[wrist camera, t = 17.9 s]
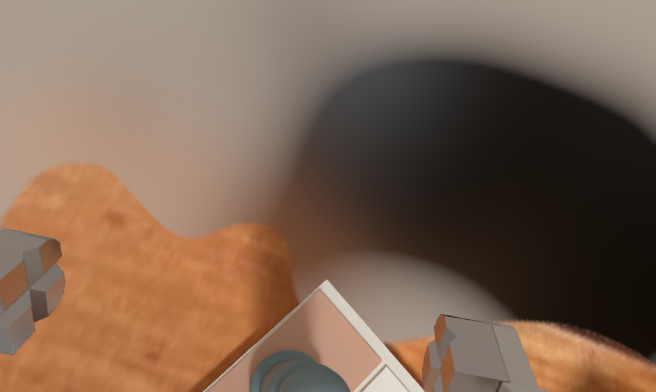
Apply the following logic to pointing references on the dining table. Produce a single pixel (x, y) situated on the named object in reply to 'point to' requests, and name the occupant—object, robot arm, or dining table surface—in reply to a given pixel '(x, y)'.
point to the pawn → (295, 375)
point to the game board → (325, 347)
